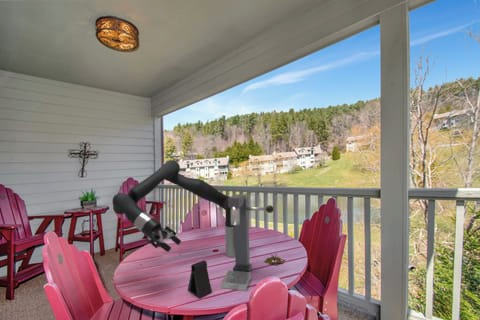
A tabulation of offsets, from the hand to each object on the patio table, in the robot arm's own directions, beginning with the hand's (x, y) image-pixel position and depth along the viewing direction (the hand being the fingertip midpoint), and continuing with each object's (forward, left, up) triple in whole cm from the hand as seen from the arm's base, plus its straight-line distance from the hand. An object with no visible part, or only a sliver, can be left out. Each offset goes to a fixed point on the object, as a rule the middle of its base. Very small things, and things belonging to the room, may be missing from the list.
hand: (175, 246), depth 95 cm
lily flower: (-37, +39, -19) cm, 57 cm away
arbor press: (-15, +30, -18) cm, 38 cm away
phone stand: (-1, +11, -19) cm, 21 cm away
